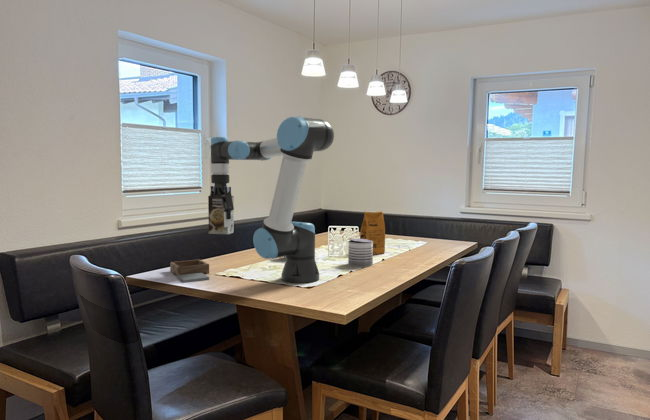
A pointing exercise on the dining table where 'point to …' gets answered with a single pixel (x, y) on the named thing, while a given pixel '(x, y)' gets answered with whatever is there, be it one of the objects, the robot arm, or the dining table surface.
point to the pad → (193, 277)
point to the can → (360, 252)
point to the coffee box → (218, 216)
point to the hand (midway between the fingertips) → (221, 225)
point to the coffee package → (374, 231)
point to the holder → (189, 267)
